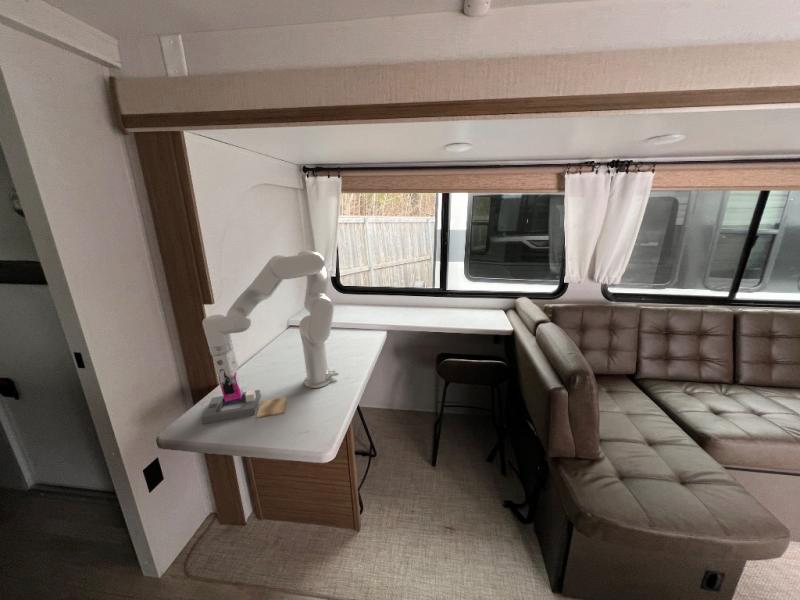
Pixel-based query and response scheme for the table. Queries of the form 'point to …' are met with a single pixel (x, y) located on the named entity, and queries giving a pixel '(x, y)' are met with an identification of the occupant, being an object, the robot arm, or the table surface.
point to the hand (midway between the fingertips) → (232, 388)
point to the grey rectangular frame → (216, 404)
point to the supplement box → (237, 389)
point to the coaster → (272, 407)
